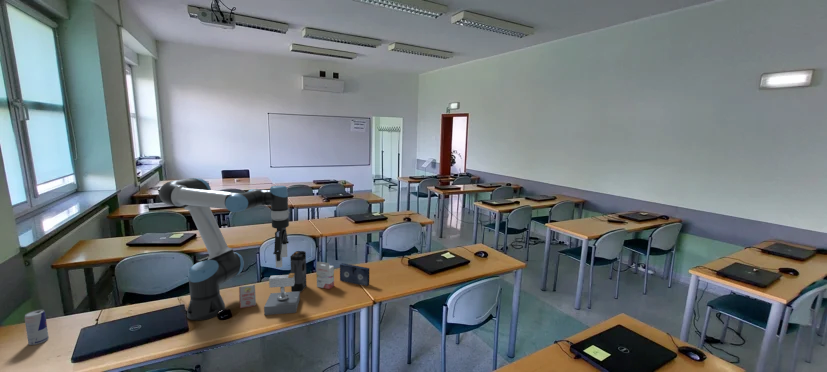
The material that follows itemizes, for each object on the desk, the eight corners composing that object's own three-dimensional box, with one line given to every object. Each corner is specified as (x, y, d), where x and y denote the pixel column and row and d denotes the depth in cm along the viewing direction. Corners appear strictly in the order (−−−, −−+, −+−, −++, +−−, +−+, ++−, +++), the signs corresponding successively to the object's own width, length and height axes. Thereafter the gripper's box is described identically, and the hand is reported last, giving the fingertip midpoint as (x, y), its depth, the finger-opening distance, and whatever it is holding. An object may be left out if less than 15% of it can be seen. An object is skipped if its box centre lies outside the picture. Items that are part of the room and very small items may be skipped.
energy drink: (52, 337, 134) (49, 309, 132) (38, 345, 129) (34, 316, 127) (39, 337, 134) (35, 309, 132) (24, 345, 128) (19, 316, 127)
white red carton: (240, 304, 163) (239, 285, 162) (255, 302, 166) (254, 283, 165) (239, 308, 160) (238, 288, 159) (255, 305, 163) (254, 286, 161)
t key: (269, 301, 158) (268, 278, 157) (271, 296, 163) (271, 274, 162) (293, 299, 161) (293, 276, 159) (295, 294, 165) (294, 272, 164)
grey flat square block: (264, 315, 154) (264, 306, 154) (271, 300, 168) (270, 292, 167) (295, 312, 157) (295, 304, 156) (299, 298, 171) (299, 291, 170)
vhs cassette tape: (369, 284, 189) (369, 267, 188) (367, 286, 187) (367, 269, 185) (342, 278, 196) (342, 262, 195) (339, 280, 193) (339, 264, 192)
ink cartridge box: (334, 285, 187) (334, 260, 185) (329, 289, 182) (329, 263, 180) (321, 283, 189) (320, 258, 187) (316, 287, 185) (315, 261, 182)
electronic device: (301, 292, 177) (300, 256, 174) (290, 292, 177) (289, 256, 175) (307, 285, 186) (306, 250, 184) (296, 284, 187) (295, 250, 184)
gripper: (283, 225, 145) (285, 271, 148) (292, 212, 169) (294, 252, 172) (265, 225, 143) (267, 272, 146) (277, 213, 168) (278, 253, 171)
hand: (281, 261), depth 159 cm, fingers open, 13 cm apart
